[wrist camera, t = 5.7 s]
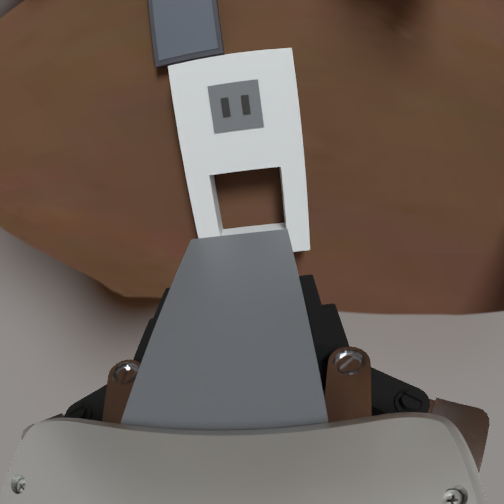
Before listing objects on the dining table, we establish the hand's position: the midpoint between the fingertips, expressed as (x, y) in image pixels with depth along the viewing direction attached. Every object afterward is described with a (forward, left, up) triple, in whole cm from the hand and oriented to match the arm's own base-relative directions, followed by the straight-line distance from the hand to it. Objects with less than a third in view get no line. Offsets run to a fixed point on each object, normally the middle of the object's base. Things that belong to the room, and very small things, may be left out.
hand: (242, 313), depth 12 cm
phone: (+3, -19, -17) cm, 26 cm away
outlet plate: (0, -4, -17) cm, 18 cm away
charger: (0, 0, -3) cm, 3 cm away
